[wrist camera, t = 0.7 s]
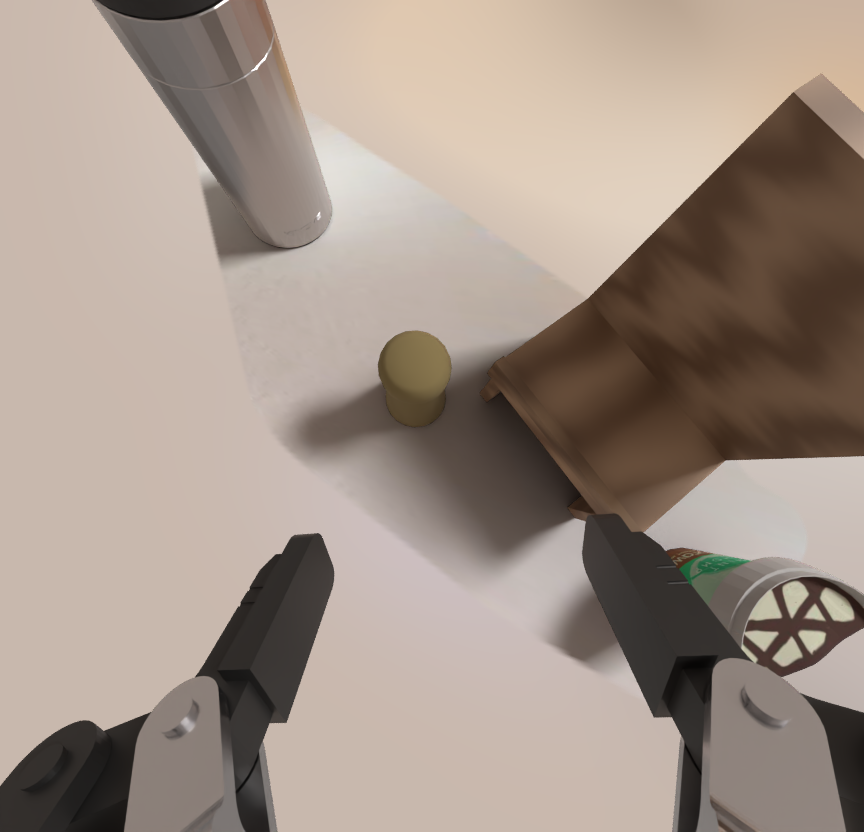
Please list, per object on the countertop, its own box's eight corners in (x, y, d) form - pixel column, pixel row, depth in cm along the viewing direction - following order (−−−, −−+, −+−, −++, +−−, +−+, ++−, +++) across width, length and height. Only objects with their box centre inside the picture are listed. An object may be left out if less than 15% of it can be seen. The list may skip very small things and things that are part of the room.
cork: (376, 414, 31) (354, 385, 20) (398, 360, 32) (388, 304, 21) (433, 435, 31) (442, 417, 20) (454, 380, 32) (472, 335, 21)
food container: (710, 513, 31) (847, 534, 21) (743, 574, 30) (903, 626, 20) (602, 567, 29) (695, 617, 20) (634, 633, 29) (747, 719, 19)
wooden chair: (473, 392, 32) (591, 227, 10) (558, 331, 33) (821, 73, 12) (574, 524, 30) (981, 669, 8) (659, 453, 32) (1190, 417, 10)
